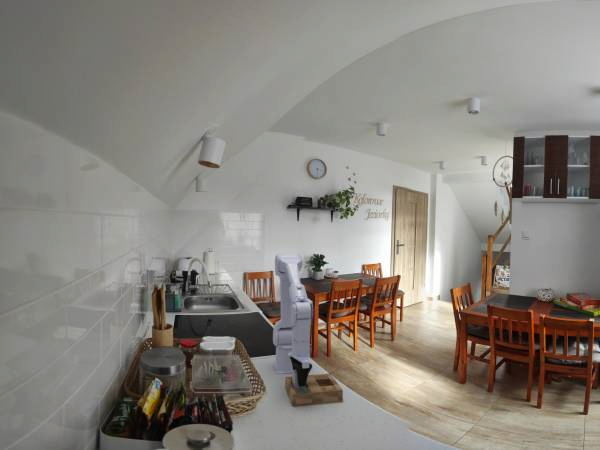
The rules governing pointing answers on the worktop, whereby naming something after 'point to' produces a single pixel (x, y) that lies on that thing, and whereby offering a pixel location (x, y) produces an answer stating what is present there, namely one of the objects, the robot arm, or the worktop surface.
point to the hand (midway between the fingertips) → (299, 381)
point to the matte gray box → (295, 380)
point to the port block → (315, 390)
